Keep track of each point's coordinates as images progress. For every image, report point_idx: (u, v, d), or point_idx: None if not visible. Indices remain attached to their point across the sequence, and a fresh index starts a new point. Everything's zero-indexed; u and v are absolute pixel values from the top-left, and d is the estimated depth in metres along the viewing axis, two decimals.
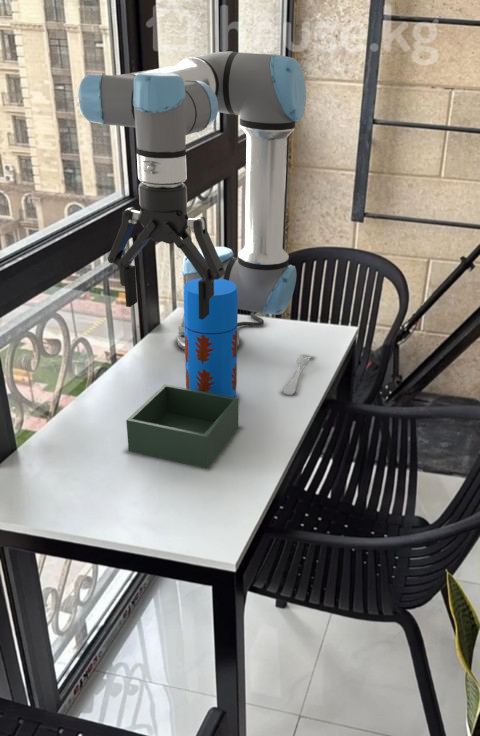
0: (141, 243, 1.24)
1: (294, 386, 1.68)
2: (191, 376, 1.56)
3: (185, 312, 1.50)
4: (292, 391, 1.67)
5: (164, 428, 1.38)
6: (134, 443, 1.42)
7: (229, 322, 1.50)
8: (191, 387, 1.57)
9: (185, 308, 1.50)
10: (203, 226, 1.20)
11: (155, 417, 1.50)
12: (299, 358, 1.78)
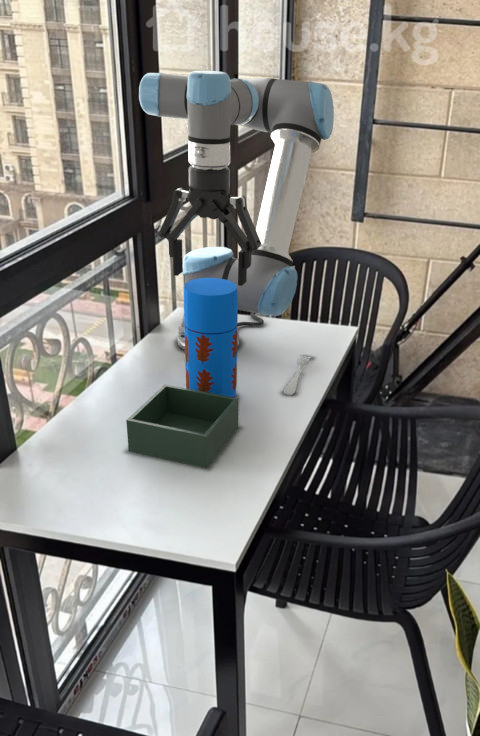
0: (189, 219, 1.43)
1: (294, 386, 1.68)
2: (191, 376, 1.56)
3: (186, 312, 1.50)
4: (292, 391, 1.67)
5: (164, 428, 1.38)
6: (134, 443, 1.42)
7: (229, 322, 1.50)
8: (191, 387, 1.57)
9: (185, 308, 1.50)
10: (244, 204, 1.39)
11: (155, 417, 1.50)
12: (299, 358, 1.78)
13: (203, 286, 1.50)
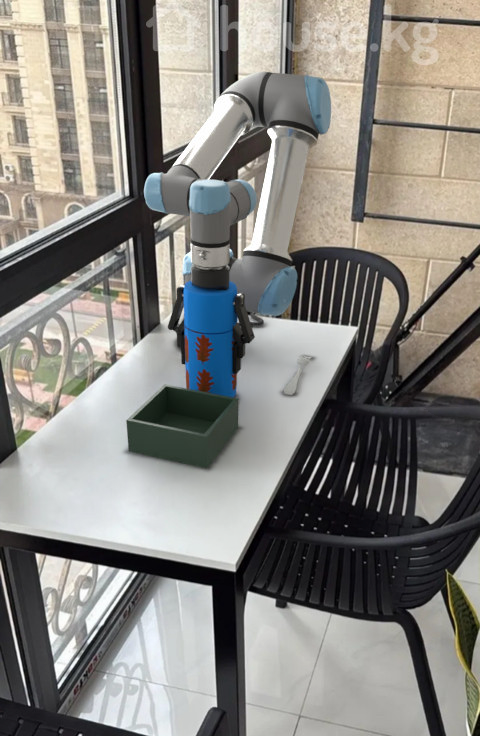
0: None
1: (294, 386, 1.68)
2: (191, 376, 1.56)
3: (185, 312, 1.50)
4: (292, 391, 1.67)
5: (164, 428, 1.38)
6: (134, 443, 1.42)
7: (229, 322, 1.50)
8: (191, 387, 1.57)
9: (185, 308, 1.50)
10: (242, 301, 1.49)
11: (155, 417, 1.50)
12: (299, 358, 1.78)
13: None
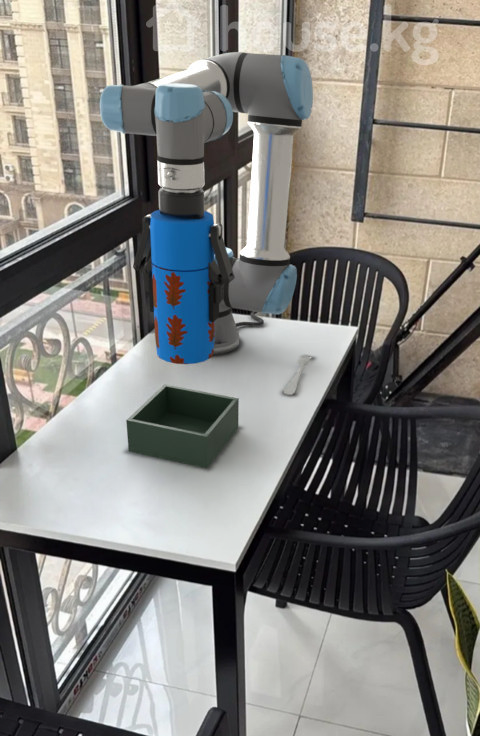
0: None
1: (294, 386, 1.68)
2: (160, 324, 1.33)
3: (152, 245, 1.27)
4: (292, 391, 1.67)
5: (164, 428, 1.38)
6: (134, 443, 1.42)
7: (204, 258, 1.27)
8: (161, 337, 1.34)
9: (152, 241, 1.27)
10: (219, 232, 1.26)
11: (155, 417, 1.50)
12: (300, 358, 1.78)
13: None
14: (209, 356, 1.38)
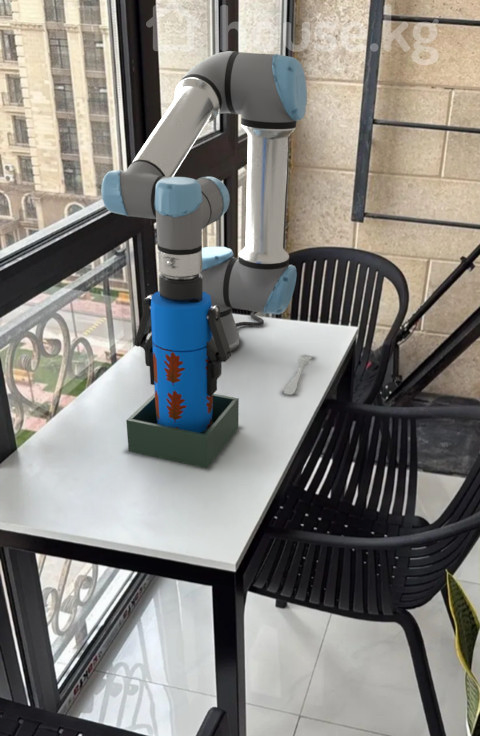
0: None
1: (294, 386, 1.68)
2: (161, 398, 1.39)
3: (153, 326, 1.33)
4: (292, 391, 1.67)
5: (164, 428, 1.38)
6: (134, 443, 1.42)
7: (202, 338, 1.33)
8: (161, 410, 1.40)
9: (152, 322, 1.32)
10: (217, 314, 1.32)
11: (155, 417, 1.50)
12: (300, 358, 1.78)
13: None
14: (207, 426, 1.44)
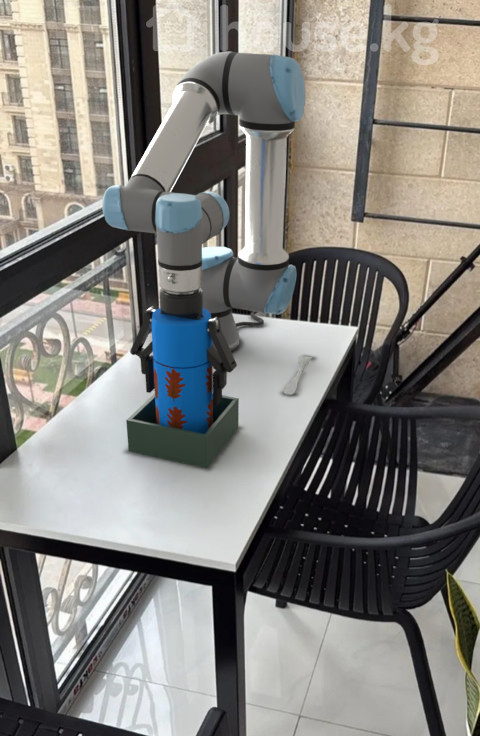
0: None
1: (295, 386, 1.68)
2: (161, 413, 1.40)
3: (154, 343, 1.34)
4: (292, 391, 1.67)
5: (164, 428, 1.38)
6: (134, 443, 1.42)
7: (202, 355, 1.34)
8: None
9: (153, 339, 1.34)
10: (217, 326, 1.33)
11: (155, 417, 1.50)
12: (300, 358, 1.78)
13: None
14: None
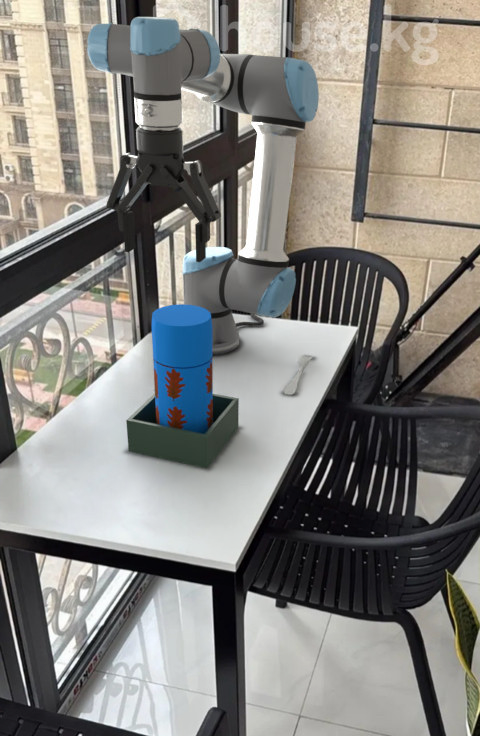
0: (139, 187, 1.28)
1: (295, 386, 1.68)
2: (161, 413, 1.40)
3: (154, 343, 1.34)
4: (293, 391, 1.67)
5: (164, 428, 1.38)
6: (134, 443, 1.42)
7: (202, 355, 1.34)
8: None
9: (153, 339, 1.34)
10: (199, 169, 1.25)
11: (155, 417, 1.50)
12: (300, 358, 1.78)
13: (173, 315, 1.34)
14: None
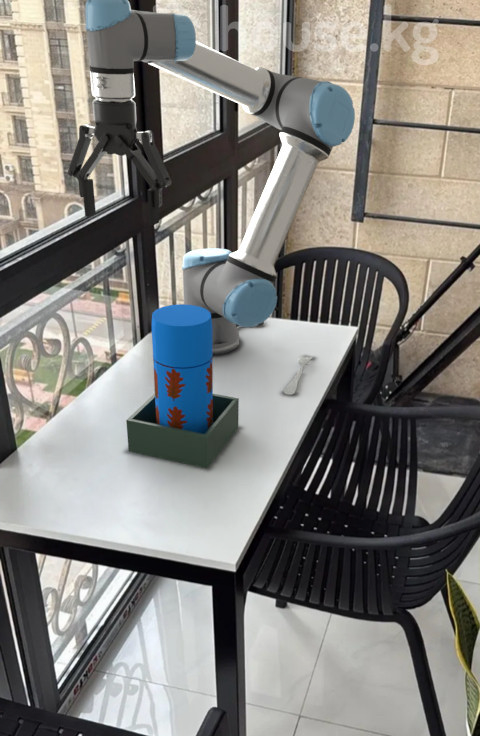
0: (96, 156, 1.39)
1: (295, 386, 1.68)
2: (161, 413, 1.40)
3: (154, 343, 1.34)
4: (293, 391, 1.67)
5: (164, 428, 1.38)
6: (134, 443, 1.42)
7: (202, 355, 1.34)
8: None
9: (153, 339, 1.34)
10: (150, 138, 1.36)
11: (155, 417, 1.50)
12: (300, 358, 1.78)
13: (173, 315, 1.34)
14: None
